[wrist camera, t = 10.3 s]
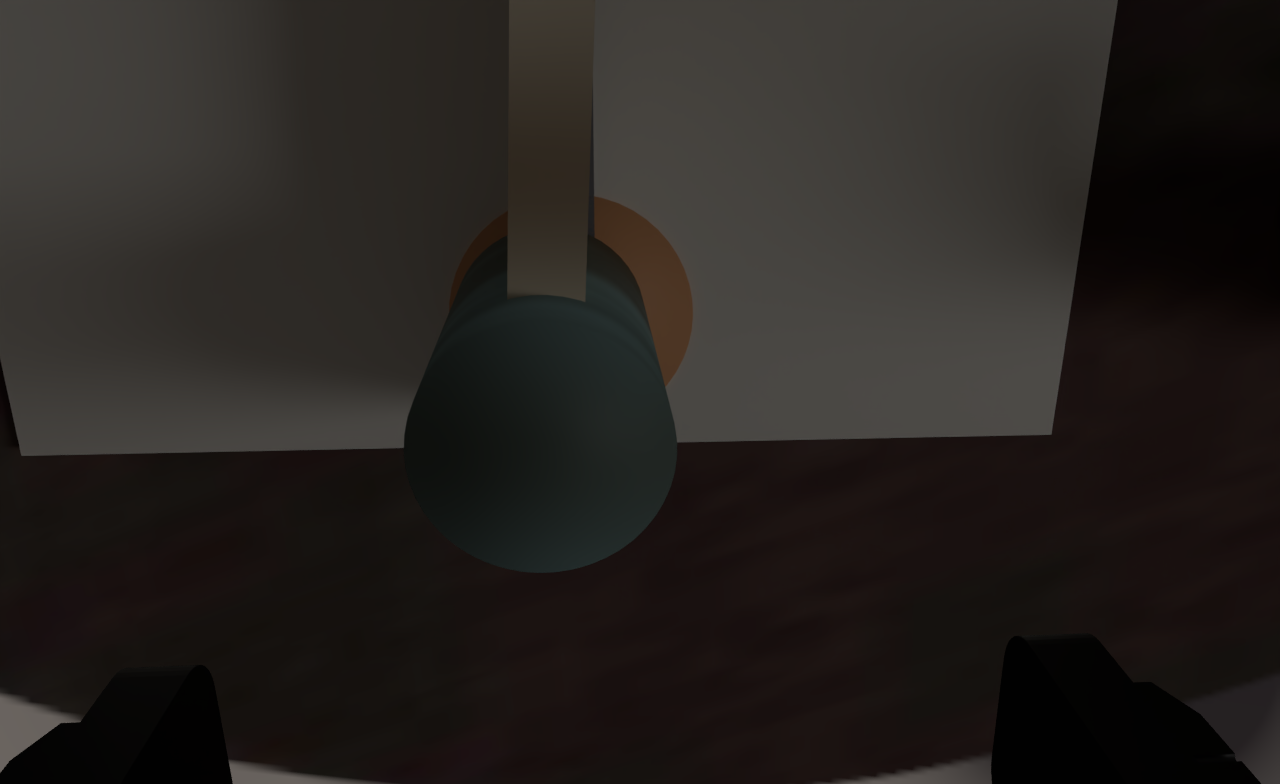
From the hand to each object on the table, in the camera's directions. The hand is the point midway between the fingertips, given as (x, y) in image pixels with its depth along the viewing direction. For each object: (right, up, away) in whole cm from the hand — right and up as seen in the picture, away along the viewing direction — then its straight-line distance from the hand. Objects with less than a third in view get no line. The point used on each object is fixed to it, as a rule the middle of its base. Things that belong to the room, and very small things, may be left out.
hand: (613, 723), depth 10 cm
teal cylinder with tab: (-1, +8, +10) cm, 13 cm away
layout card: (-2, +10, +10) cm, 14 cm away
